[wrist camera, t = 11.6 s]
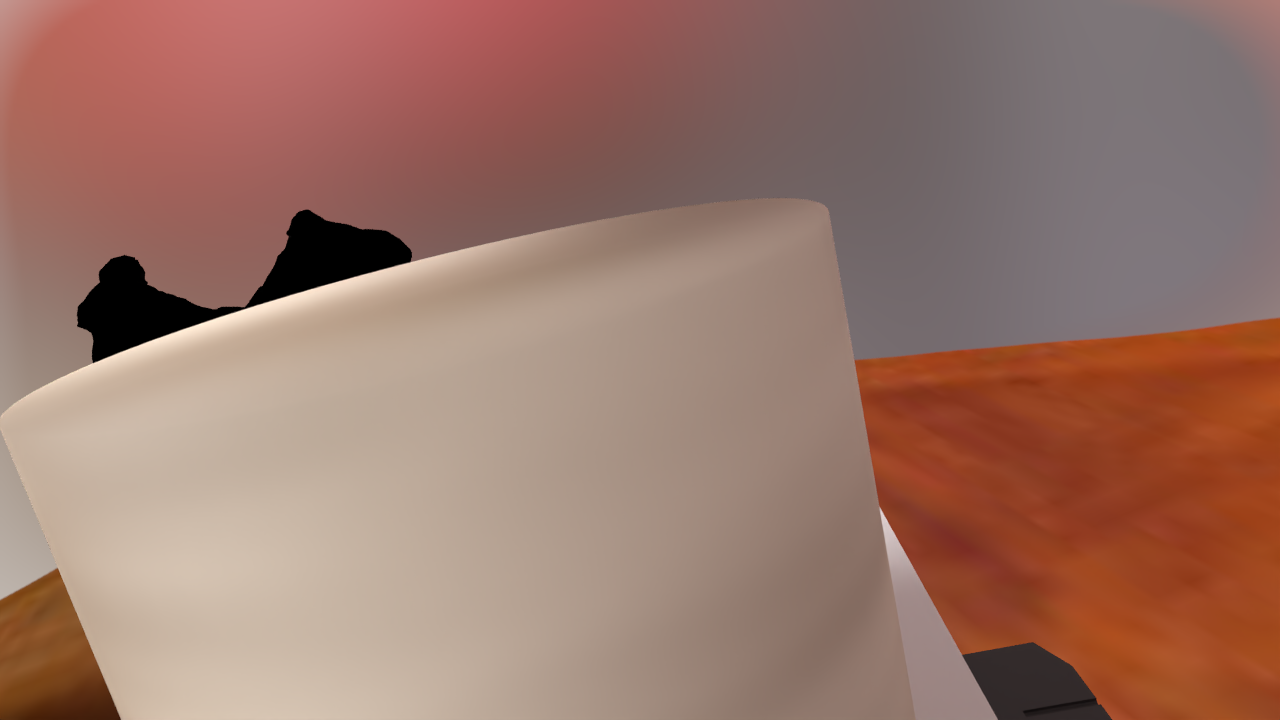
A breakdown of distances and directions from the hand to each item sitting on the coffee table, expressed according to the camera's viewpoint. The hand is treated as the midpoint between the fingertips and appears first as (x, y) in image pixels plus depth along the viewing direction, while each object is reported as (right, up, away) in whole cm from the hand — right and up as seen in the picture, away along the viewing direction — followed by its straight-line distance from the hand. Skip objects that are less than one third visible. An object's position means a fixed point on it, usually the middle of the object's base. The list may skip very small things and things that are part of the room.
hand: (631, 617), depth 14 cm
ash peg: (+2, -10, -3) cm, 10 cm away
